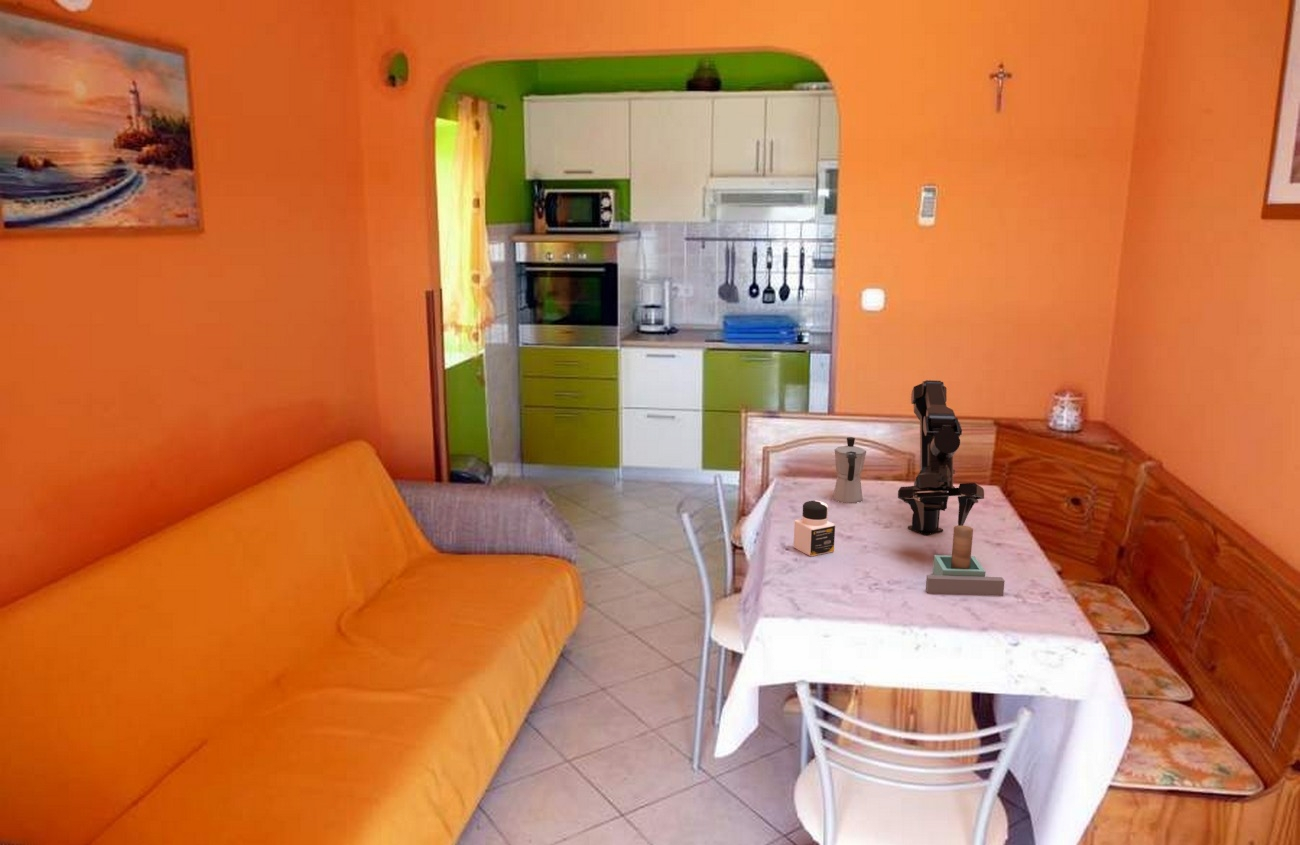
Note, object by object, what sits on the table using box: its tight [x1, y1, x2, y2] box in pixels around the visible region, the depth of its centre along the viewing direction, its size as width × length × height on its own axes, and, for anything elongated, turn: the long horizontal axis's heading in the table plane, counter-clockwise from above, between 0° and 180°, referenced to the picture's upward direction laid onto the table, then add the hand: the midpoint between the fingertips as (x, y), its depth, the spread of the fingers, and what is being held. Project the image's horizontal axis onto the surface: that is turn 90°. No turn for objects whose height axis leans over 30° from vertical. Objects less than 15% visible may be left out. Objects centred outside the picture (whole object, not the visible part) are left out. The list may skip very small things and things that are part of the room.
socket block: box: [932, 554, 986, 577], centre depth 209 cm, size 9×9×4 cm
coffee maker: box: [832, 436, 867, 504], centre depth 265 cm, size 15×9×18 cm, turn 172°
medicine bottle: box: [793, 500, 836, 557], centre depth 228 cm, size 7×7×12 cm
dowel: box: [951, 525, 974, 569], centre depth 207 cm, size 4×4×12 cm
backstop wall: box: [925, 574, 1005, 597], centre depth 204 cm, size 2×16×4 cm, turn 86°
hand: (940, 529), depth 217 cm, fingers open, 9 cm apart
